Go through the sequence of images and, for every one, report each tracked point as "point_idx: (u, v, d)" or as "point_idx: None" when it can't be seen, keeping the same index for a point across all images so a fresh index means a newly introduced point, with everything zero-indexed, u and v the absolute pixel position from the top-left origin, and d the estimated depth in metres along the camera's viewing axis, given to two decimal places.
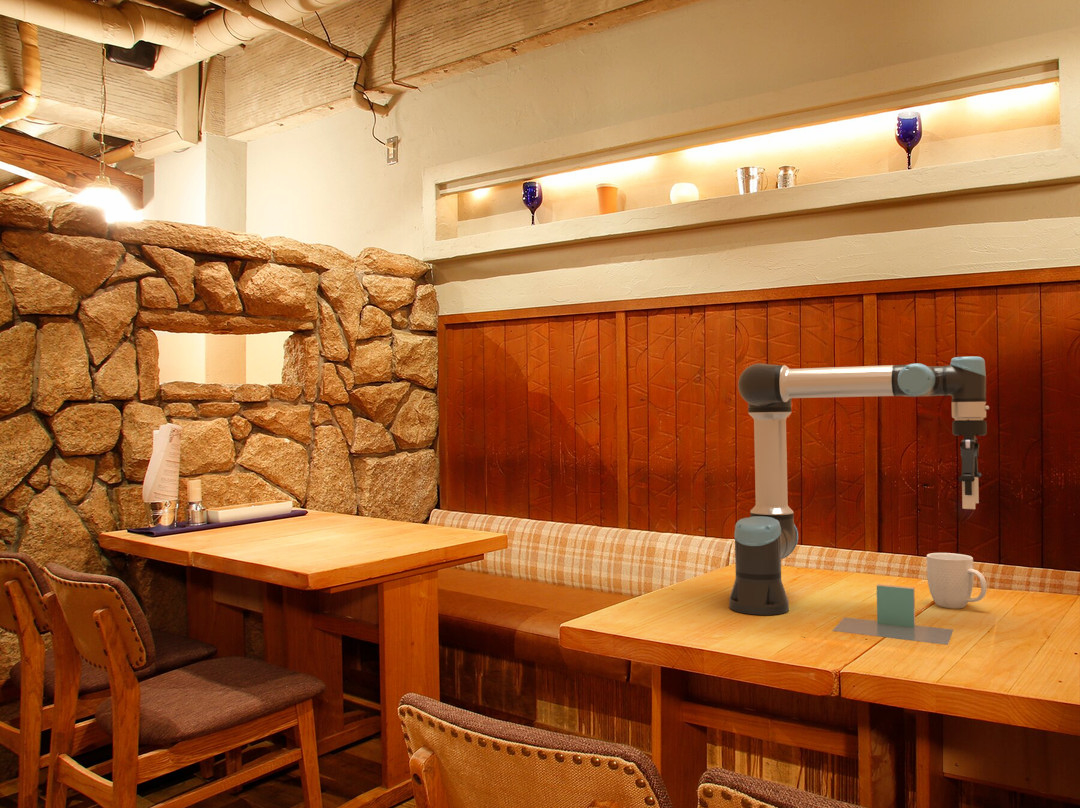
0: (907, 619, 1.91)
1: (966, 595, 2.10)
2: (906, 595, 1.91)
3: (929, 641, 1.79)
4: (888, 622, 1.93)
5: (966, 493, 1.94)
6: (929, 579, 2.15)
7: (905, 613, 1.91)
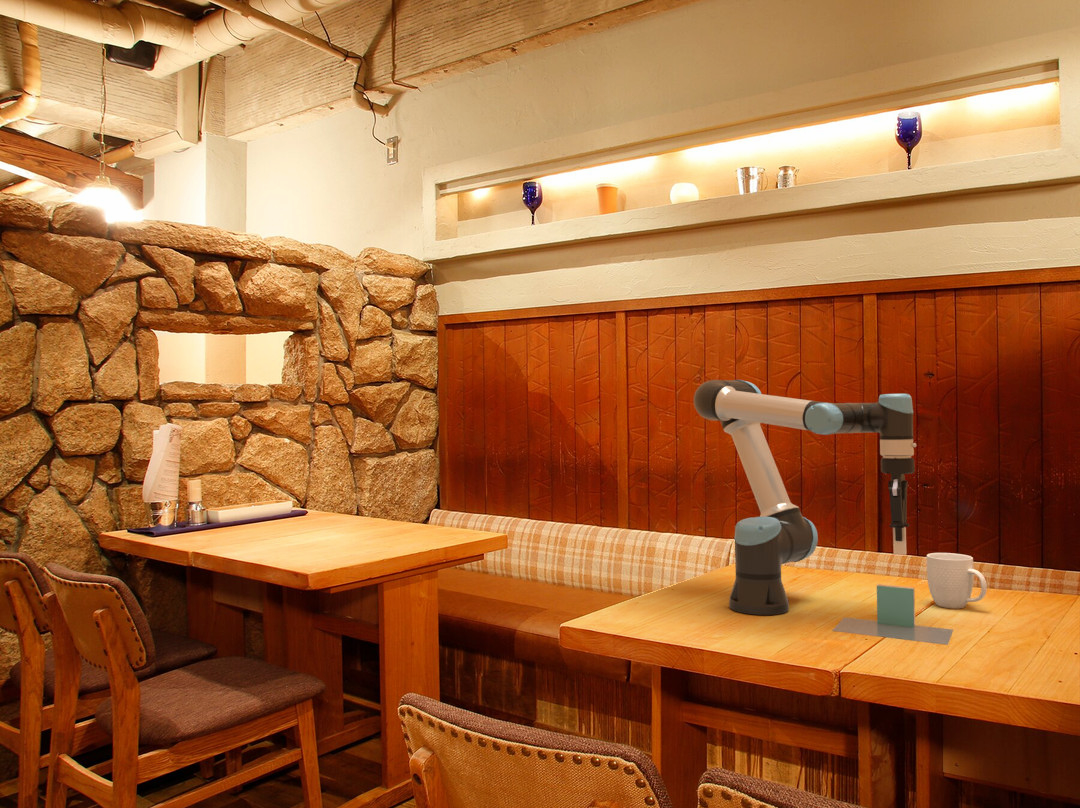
0: (907, 619, 1.91)
1: (966, 595, 2.10)
2: (906, 595, 1.91)
3: (929, 641, 1.79)
4: (888, 622, 1.93)
5: (896, 539, 1.97)
6: (929, 579, 2.15)
7: (905, 613, 1.91)
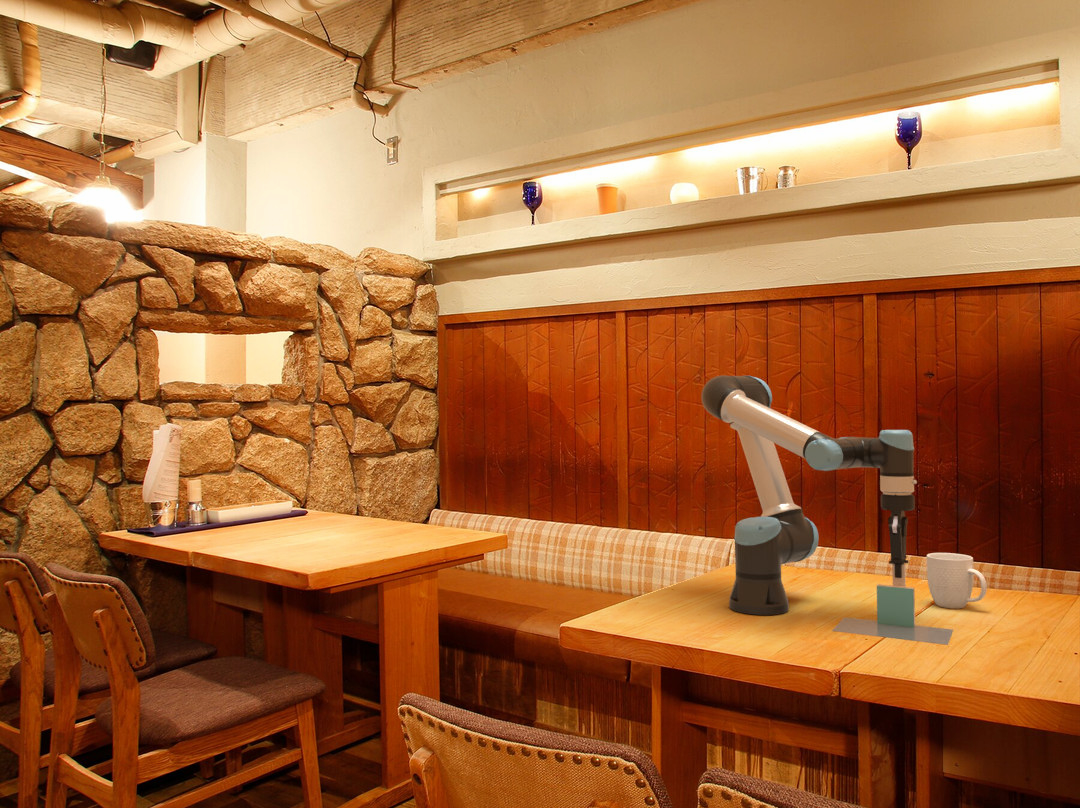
0: (907, 619, 1.91)
1: (966, 595, 2.10)
2: (906, 595, 1.91)
3: (929, 641, 1.79)
4: (888, 622, 1.93)
5: (896, 576, 1.97)
6: (929, 579, 2.15)
7: (905, 613, 1.91)
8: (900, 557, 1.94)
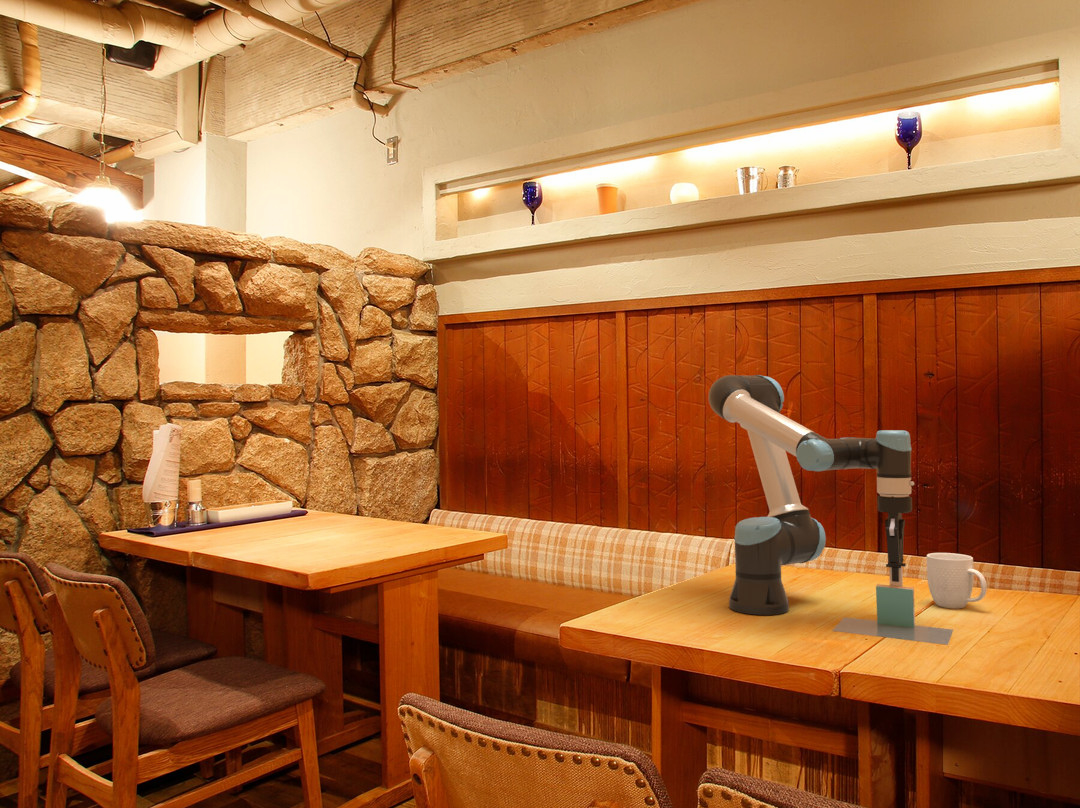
0: (907, 619, 1.90)
1: (966, 595, 2.10)
2: (906, 596, 1.90)
3: (929, 641, 1.79)
4: (888, 622, 1.93)
5: (893, 579, 1.92)
6: (929, 579, 2.15)
7: (905, 613, 1.91)
8: (897, 560, 1.90)
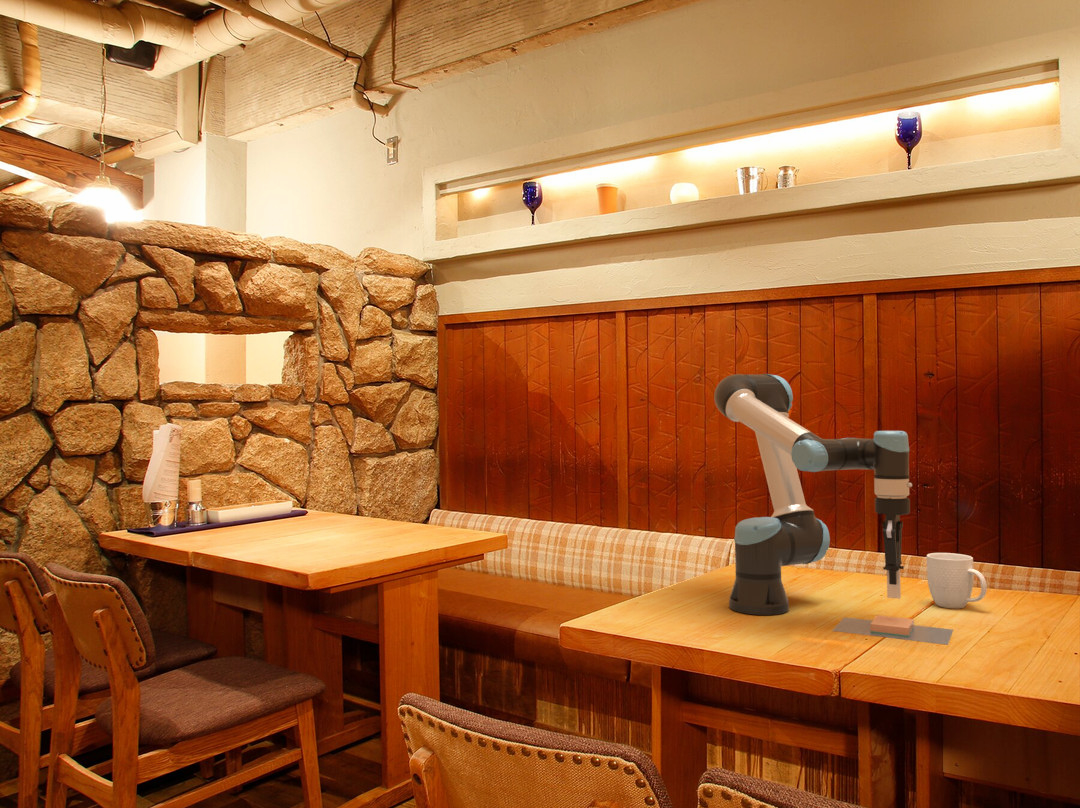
0: None
1: (966, 595, 2.10)
2: None
3: (929, 641, 1.79)
4: None
5: (890, 582, 1.89)
6: (929, 579, 2.15)
7: None
8: (895, 563, 1.87)
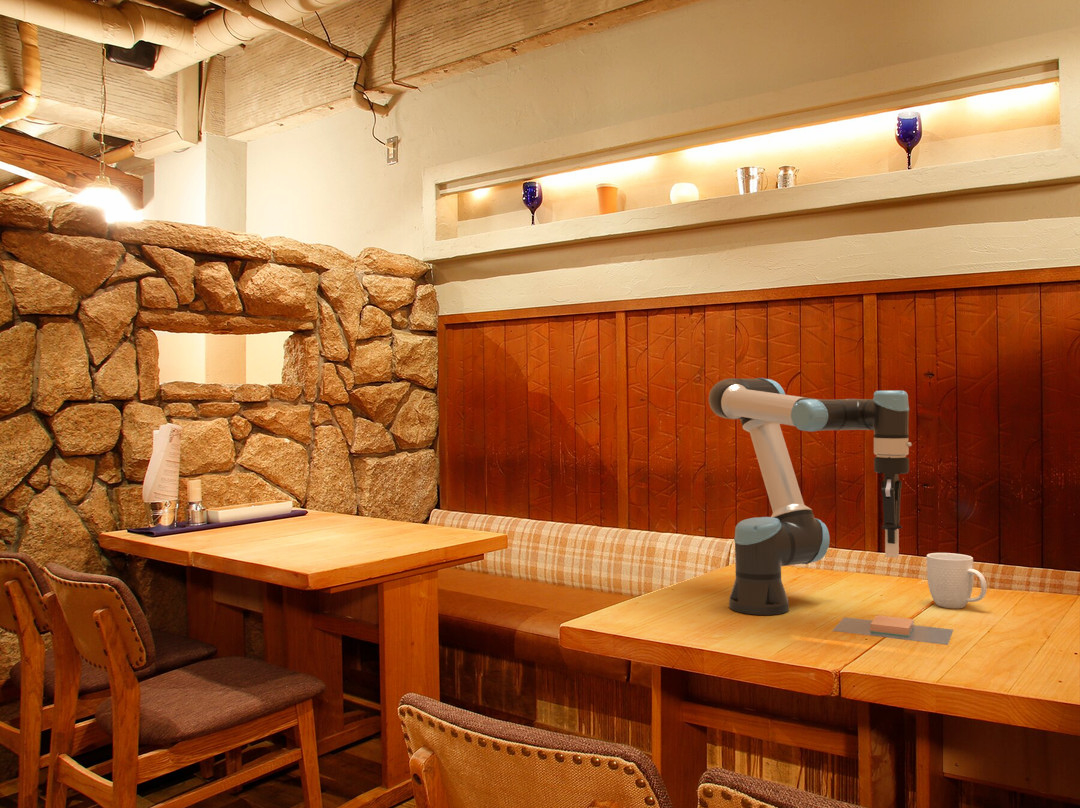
0: None
1: (966, 595, 2.10)
2: None
3: (929, 641, 1.79)
4: None
5: (889, 541, 1.90)
6: (929, 579, 2.15)
7: None
8: (893, 522, 1.87)
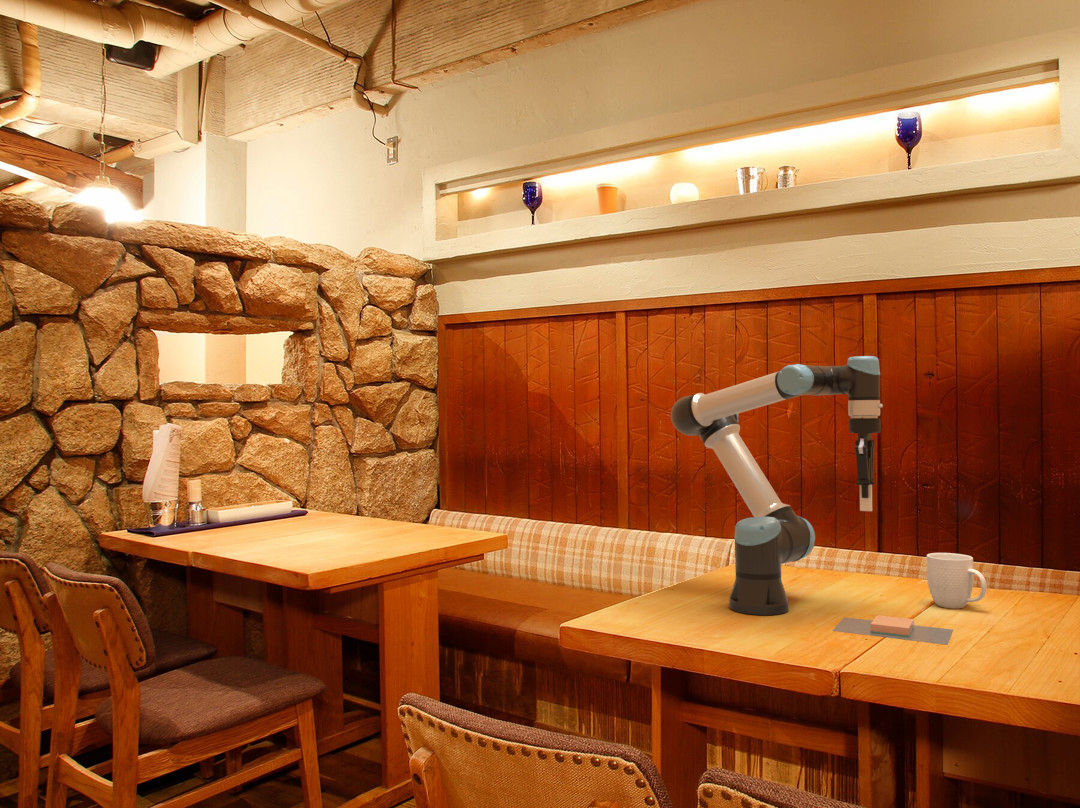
0: None
1: (966, 595, 2.10)
2: None
3: (929, 641, 1.79)
4: None
5: (863, 496, 2.05)
6: (929, 579, 2.15)
7: None
8: (866, 477, 2.02)
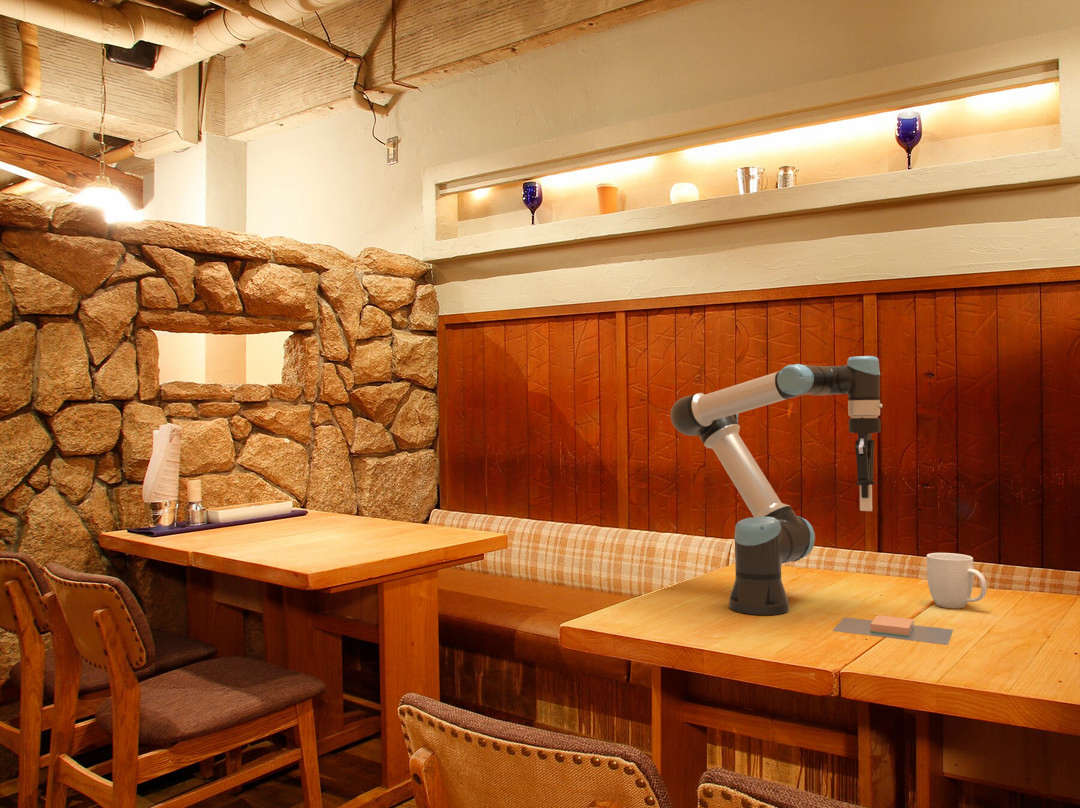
0: None
1: (966, 595, 2.10)
2: None
3: (929, 641, 1.79)
4: None
5: (862, 496, 2.05)
6: (929, 579, 2.15)
7: None
8: (866, 477, 2.02)
